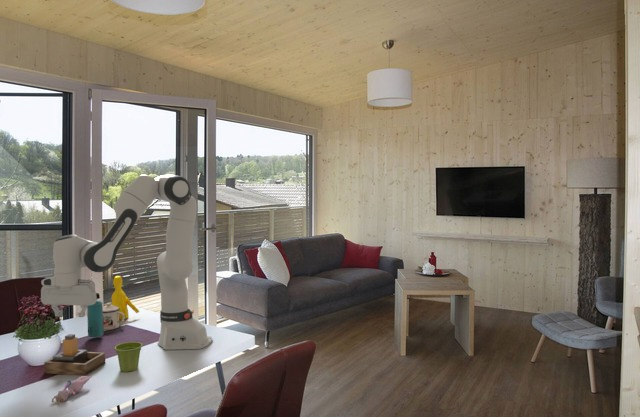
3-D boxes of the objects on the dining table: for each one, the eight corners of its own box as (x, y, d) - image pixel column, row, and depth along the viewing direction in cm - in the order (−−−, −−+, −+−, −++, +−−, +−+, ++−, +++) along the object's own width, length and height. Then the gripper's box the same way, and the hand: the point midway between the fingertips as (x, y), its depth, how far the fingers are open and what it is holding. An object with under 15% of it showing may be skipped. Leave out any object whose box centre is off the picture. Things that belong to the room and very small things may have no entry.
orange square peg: (78, 363, 179) (77, 334, 178) (72, 367, 175) (71, 337, 175) (69, 363, 179) (68, 333, 179) (63, 366, 176) (62, 336, 175)
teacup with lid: (94, 330, 223) (94, 305, 222) (104, 324, 232) (104, 300, 231) (120, 330, 222) (119, 305, 221) (129, 324, 231) (128, 301, 230)
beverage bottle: (106, 336, 214) (105, 291, 213) (98, 341, 207) (97, 295, 206) (93, 335, 214) (91, 291, 213) (84, 340, 208) (83, 295, 207)
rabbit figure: (64, 409, 148) (98, 382, 162) (61, 391, 147) (95, 366, 161) (48, 406, 150) (82, 380, 164) (45, 389, 148) (80, 364, 163)
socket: (87, 361, 181) (87, 349, 181) (73, 369, 173) (73, 357, 173) (68, 360, 182) (67, 348, 182) (53, 368, 174) (53, 356, 174)
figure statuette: (141, 317, 244) (140, 274, 243) (134, 321, 237) (133, 277, 235) (107, 316, 246) (106, 273, 245) (99, 320, 238) (98, 276, 237)
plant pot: (124, 363, 182) (124, 340, 181) (147, 365, 180) (147, 342, 180) (109, 373, 173) (109, 349, 172) (133, 374, 171) (133, 351, 170)
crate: (105, 363, 182) (105, 352, 182) (85, 375, 170) (85, 364, 170) (66, 360, 184) (66, 350, 184) (44, 373, 172) (44, 362, 172)
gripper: (99, 277, 177) (101, 314, 178) (49, 277, 180) (51, 313, 181) (88, 281, 171) (90, 319, 172) (37, 280, 174) (39, 318, 175)
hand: (70, 316), depth 177 cm, fingers open, 8 cm apart
